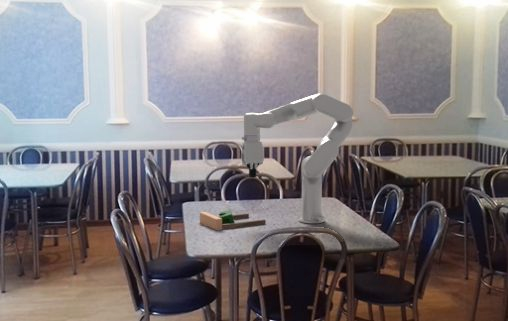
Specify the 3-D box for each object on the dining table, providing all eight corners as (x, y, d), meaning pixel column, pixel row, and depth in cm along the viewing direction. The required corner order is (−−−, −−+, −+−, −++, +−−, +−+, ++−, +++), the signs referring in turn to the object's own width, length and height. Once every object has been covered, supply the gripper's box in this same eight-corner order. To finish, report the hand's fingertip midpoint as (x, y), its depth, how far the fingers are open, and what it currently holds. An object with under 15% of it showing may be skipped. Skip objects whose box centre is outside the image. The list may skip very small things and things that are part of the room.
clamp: (223, 231, 292) (218, 213, 295) (235, 228, 293) (230, 210, 295) (222, 227, 281) (217, 208, 283) (234, 223, 281) (229, 205, 284)
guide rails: (265, 224, 288) (265, 219, 288) (222, 229, 277) (222, 225, 277) (247, 217, 304) (247, 213, 303) (206, 221, 293) (206, 217, 292)
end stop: (222, 229, 277) (222, 218, 276) (216, 230, 275) (216, 219, 275) (205, 222, 293) (205, 211, 292) (199, 222, 291) (199, 212, 291)
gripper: (241, 140, 283) (242, 179, 285) (269, 138, 290) (270, 176, 293) (234, 139, 290) (235, 177, 292) (261, 137, 297) (262, 175, 299)
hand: (252, 177), depth 292 cm, fingers closed
